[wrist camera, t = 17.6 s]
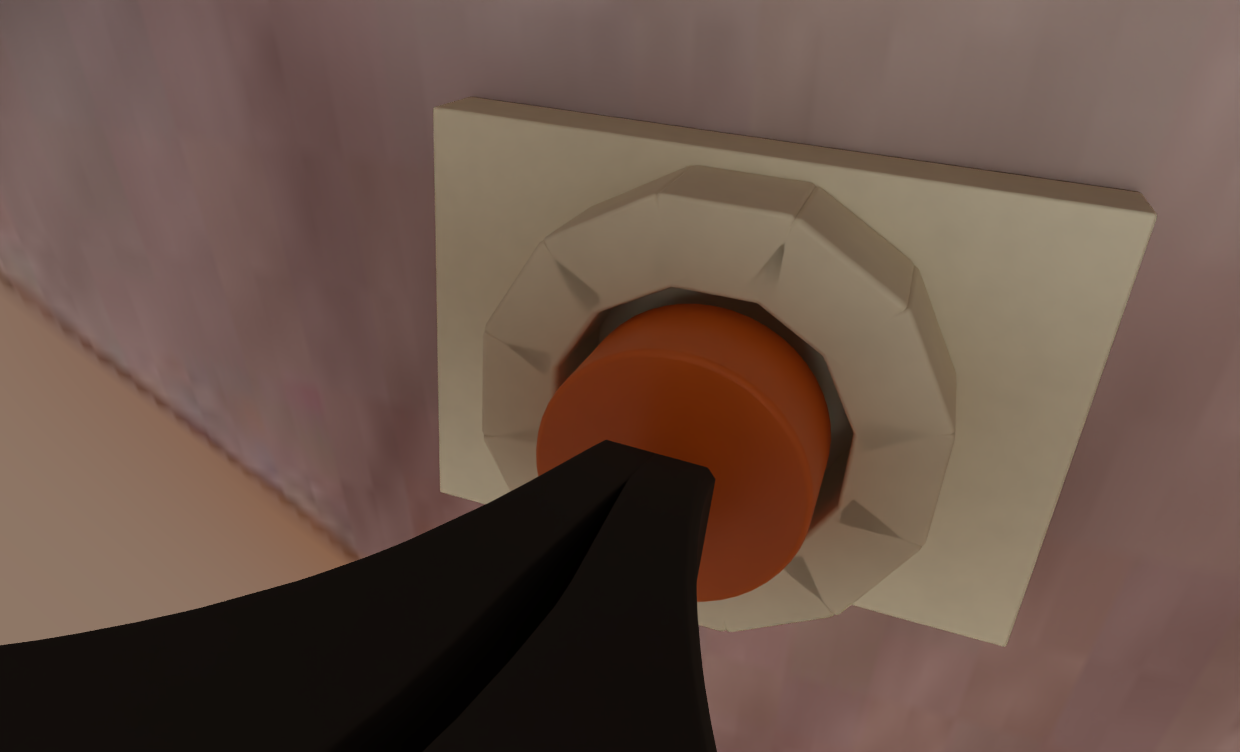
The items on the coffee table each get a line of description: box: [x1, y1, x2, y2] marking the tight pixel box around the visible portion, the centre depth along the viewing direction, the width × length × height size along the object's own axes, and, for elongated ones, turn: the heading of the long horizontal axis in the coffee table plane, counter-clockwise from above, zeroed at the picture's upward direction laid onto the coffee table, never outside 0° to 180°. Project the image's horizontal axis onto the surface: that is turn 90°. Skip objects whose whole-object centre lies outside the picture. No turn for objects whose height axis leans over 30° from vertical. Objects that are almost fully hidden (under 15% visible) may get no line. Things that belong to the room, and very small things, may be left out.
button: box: [536, 304, 831, 602], centre depth 12 cm, size 4×4×2 cm
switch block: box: [433, 97, 1157, 647], centre depth 14 cm, size 10×7×3 cm
